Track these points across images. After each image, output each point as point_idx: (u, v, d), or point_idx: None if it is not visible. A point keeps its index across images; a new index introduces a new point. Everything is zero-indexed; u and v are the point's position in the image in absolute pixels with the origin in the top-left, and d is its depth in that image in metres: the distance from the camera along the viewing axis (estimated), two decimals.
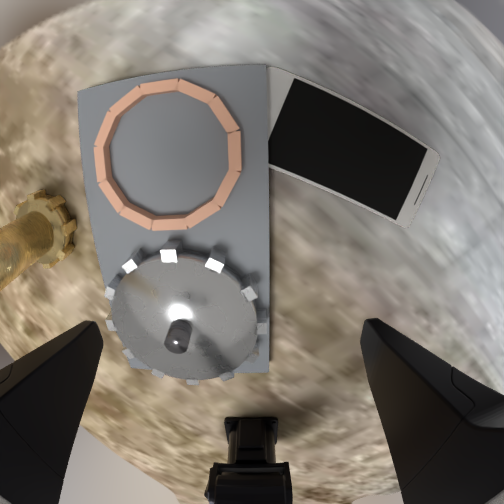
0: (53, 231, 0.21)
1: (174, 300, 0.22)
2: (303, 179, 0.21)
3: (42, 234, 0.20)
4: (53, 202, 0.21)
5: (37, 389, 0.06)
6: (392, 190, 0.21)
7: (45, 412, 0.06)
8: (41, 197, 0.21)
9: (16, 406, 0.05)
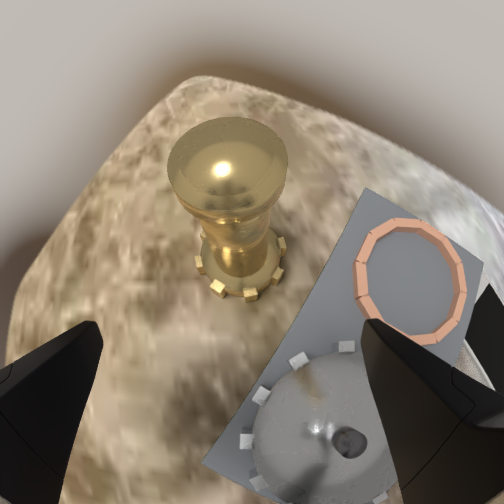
0: (264, 265, 0.22)
1: (363, 403, 0.17)
2: (473, 355, 0.20)
3: (265, 254, 0.21)
4: None
5: (37, 389, 0.06)
6: None
7: (45, 412, 0.06)
8: None
9: (16, 406, 0.05)
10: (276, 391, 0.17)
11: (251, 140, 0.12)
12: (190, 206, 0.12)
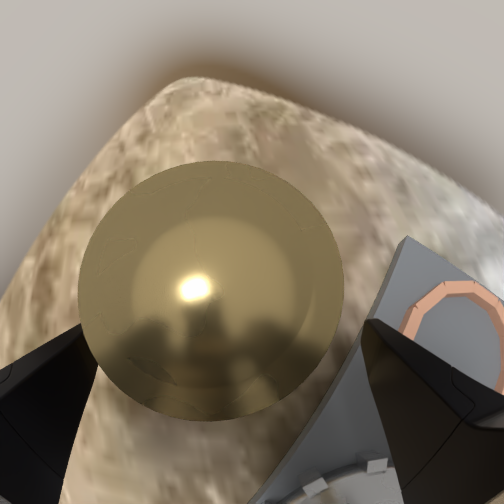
0: None
1: None
2: None
3: None
4: None
5: (37, 389, 0.06)
6: None
7: (45, 412, 0.06)
8: None
9: (16, 406, 0.05)
10: None
11: (259, 230, 0.05)
12: (128, 389, 0.05)
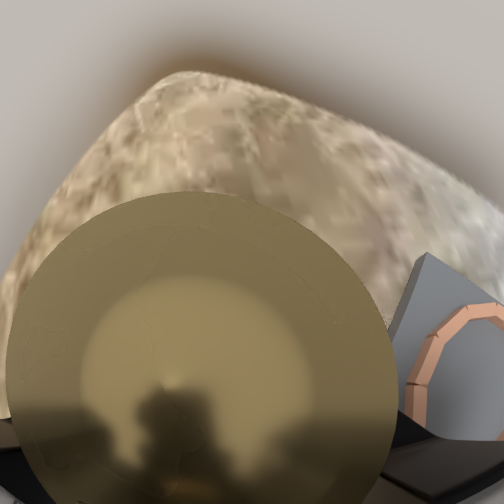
0: None
1: None
2: None
3: None
4: None
5: None
6: None
7: None
8: None
9: None
10: None
11: (264, 335, 0.03)
12: None
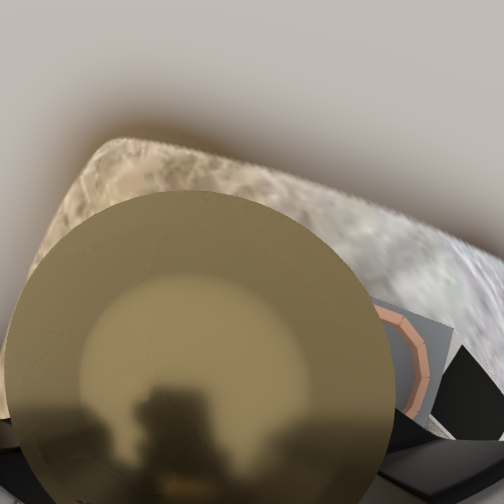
0: None
1: None
2: (441, 427, 0.18)
3: None
4: None
5: None
6: None
7: None
8: None
9: None
10: None
11: (261, 332, 0.03)
12: None
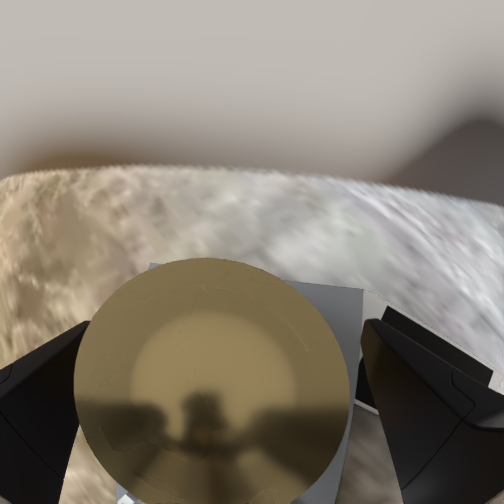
0: None
1: None
2: None
3: None
4: None
5: (37, 389, 0.06)
6: None
7: (45, 412, 0.06)
8: None
9: (16, 406, 0.05)
10: None
11: (262, 358, 0.05)
12: (136, 488, 0.04)
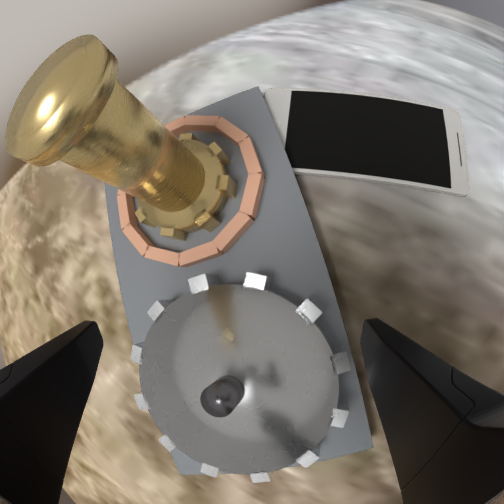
0: (205, 181, 0.18)
1: (213, 346, 0.16)
2: (333, 173, 0.19)
3: (194, 167, 0.16)
4: (219, 147, 0.18)
5: (37, 389, 0.06)
6: (430, 157, 0.17)
7: (45, 412, 0.06)
8: None
9: (16, 406, 0.05)
10: (145, 390, 0.17)
11: (62, 57, 0.07)
12: (26, 158, 0.08)
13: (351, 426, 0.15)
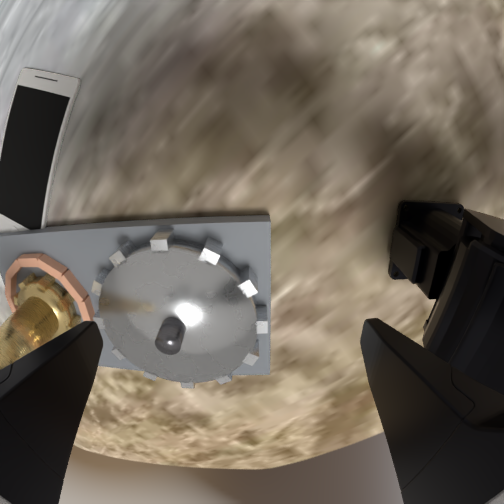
0: (40, 298, 0.20)
1: (139, 327, 0.21)
2: (46, 199, 0.20)
3: (28, 306, 0.19)
4: (22, 281, 0.20)
5: (37, 389, 0.06)
6: (46, 111, 0.17)
7: (45, 412, 0.06)
8: None
9: (16, 406, 0.05)
10: (177, 379, 0.23)
11: None
12: None
13: (238, 237, 0.20)
